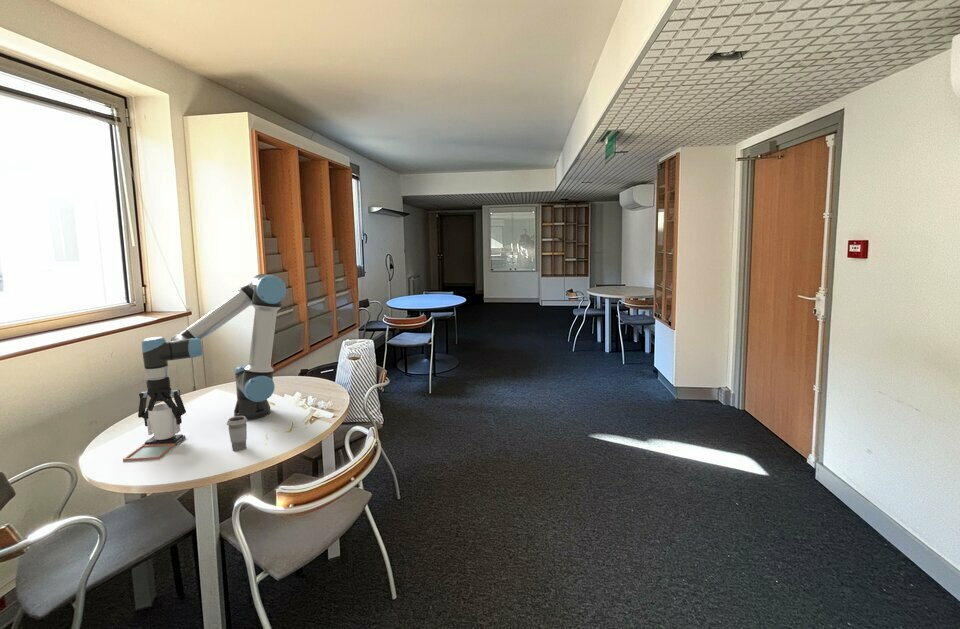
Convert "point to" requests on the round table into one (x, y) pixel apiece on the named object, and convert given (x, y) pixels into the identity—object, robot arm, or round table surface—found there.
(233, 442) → the cup
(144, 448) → the print frame
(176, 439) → the ink pad
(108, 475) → the round table surface
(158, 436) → the cup
